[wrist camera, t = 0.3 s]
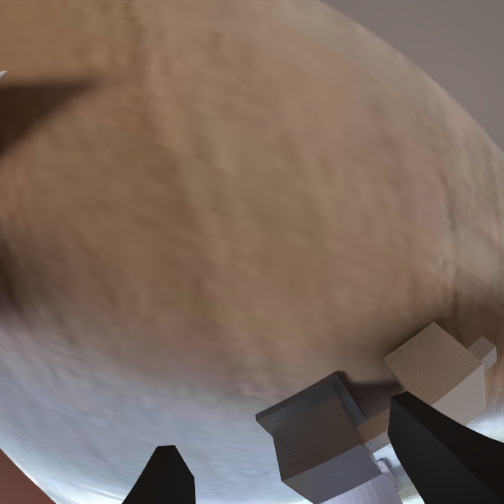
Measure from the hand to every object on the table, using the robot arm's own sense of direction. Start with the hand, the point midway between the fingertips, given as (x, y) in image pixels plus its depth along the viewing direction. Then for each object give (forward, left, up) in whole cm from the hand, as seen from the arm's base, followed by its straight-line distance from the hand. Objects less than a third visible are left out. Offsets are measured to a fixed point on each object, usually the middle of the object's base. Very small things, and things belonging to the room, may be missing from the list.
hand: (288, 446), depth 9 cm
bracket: (-10, -7, -9) cm, 15 cm away
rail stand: (-10, -4, -10) cm, 14 cm away
